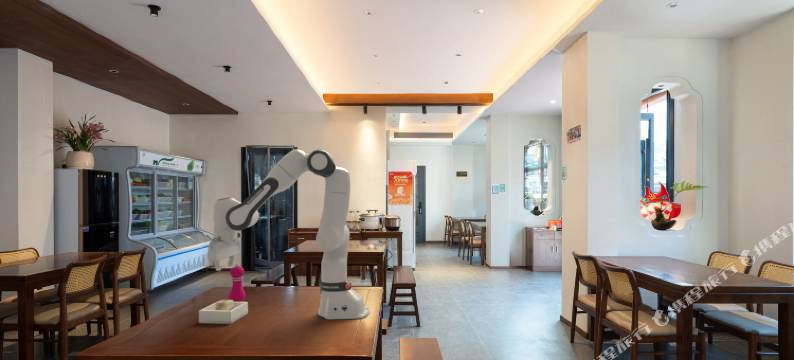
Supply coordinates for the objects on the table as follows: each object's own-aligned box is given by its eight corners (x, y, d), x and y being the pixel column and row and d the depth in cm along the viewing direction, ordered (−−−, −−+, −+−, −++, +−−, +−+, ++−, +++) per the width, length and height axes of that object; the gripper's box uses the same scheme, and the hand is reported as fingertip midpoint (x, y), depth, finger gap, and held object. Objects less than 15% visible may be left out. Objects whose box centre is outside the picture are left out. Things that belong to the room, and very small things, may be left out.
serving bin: (247, 313, 179) (247, 302, 179) (231, 323, 165) (231, 311, 165) (218, 312, 180) (218, 301, 180) (198, 322, 166) (198, 310, 167)
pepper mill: (248, 303, 194) (248, 261, 195) (240, 308, 187) (240, 264, 187) (233, 303, 195) (233, 261, 195) (226, 307, 188) (225, 264, 188)
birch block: (233, 314, 175) (233, 300, 175) (226, 317, 170) (226, 303, 170) (222, 313, 175) (222, 299, 175) (215, 317, 170) (215, 302, 171)
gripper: (218, 238, 163) (218, 273, 163) (243, 233, 183) (243, 263, 183) (203, 238, 164) (203, 273, 163) (230, 233, 184) (230, 263, 184)
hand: (224, 268), depth 173 cm, fingers open, 8 cm apart
